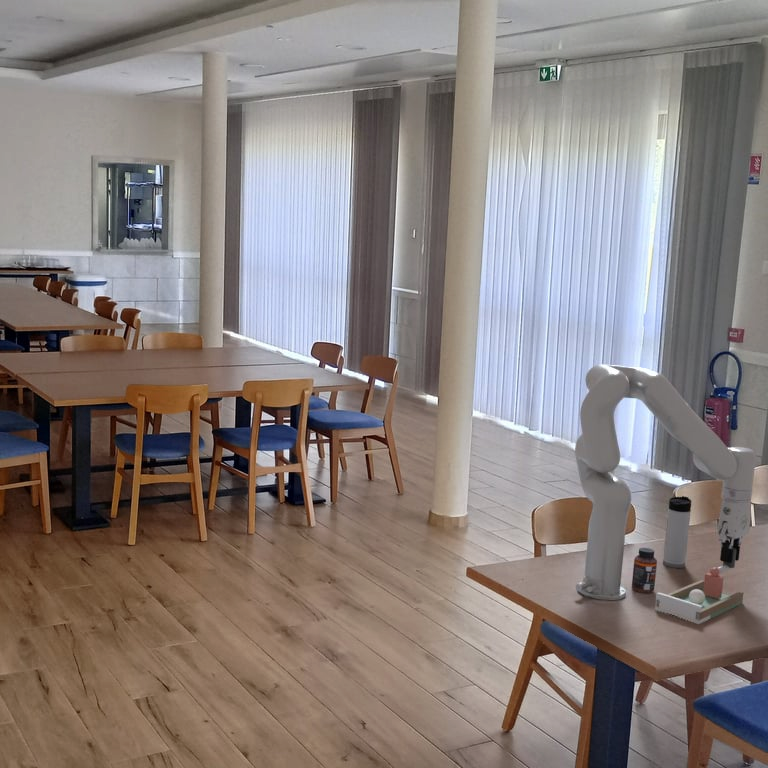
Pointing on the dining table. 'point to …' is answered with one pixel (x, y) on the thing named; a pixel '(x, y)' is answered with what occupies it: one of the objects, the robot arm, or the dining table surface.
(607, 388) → the robot arm
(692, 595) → the ball
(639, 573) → the supplement bottle
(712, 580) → the kicker rod
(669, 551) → the travel mug
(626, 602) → the dining table surface
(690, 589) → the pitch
